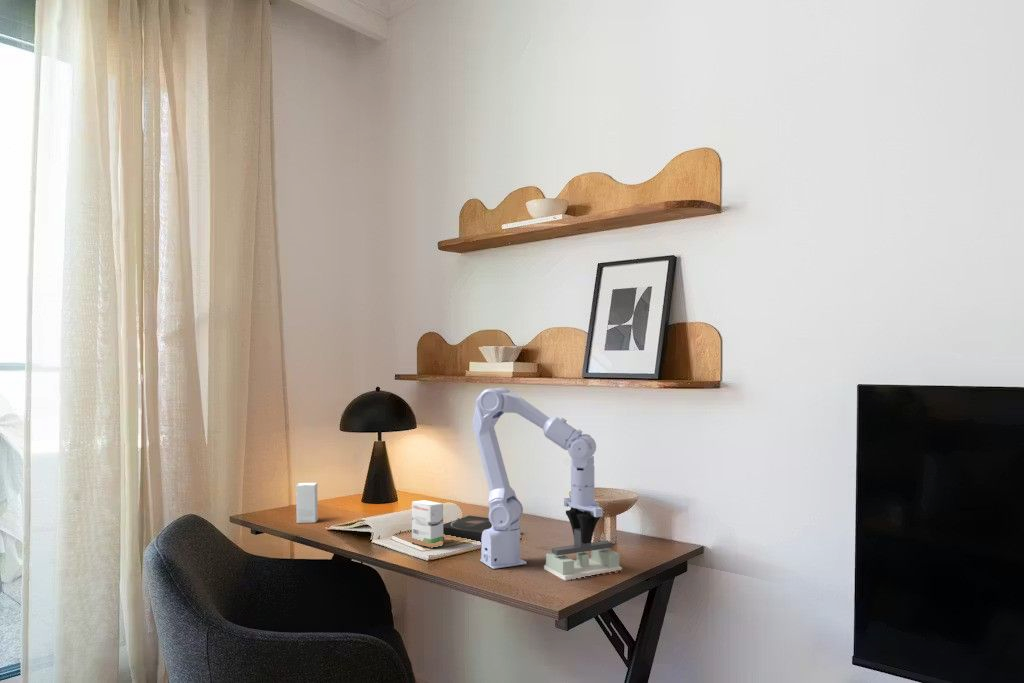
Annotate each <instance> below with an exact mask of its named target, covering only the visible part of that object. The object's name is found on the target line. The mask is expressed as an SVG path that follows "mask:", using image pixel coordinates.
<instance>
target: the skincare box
mask: <svg viewBox="0 0 1024 683" xmlns="http://www.w3.org/2000/svg"><path fill="white" fill-rule="evenodd" d="M295 494H296V495H295V498H296V500H295V502H296V505H295V506H296V509H295V510H296V512H295V513H296V524H308V523H310V524H312V523H315V524H316V523H317V522H318V520H319V519H318V516H319V514H318V508H319V507H318V506H319V504H318V482H299V483H297V484H296V486H295Z"/></svg>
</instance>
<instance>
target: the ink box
mask: <svg viewBox="0 0 1024 683" xmlns="http://www.w3.org/2000/svg"><path fill="white" fill-rule="evenodd" d="M443 524H444V503H442V502H436V501H433V500H432V501H431V500H425V499H422V500H413V501H411V536H412V537H411V539H412V538H414V539H417V540H421V541H424V542H428V543H436V542H439V541H443V540H444V537H443ZM444 541H445V540H444Z"/></svg>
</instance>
